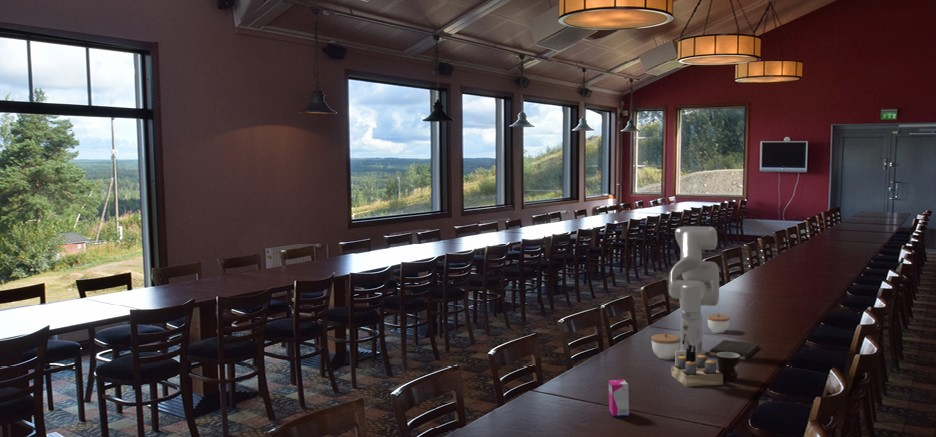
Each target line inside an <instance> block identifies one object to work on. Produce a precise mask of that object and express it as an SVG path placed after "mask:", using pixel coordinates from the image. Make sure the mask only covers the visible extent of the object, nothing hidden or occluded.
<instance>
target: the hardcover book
mask: <svg viewBox="0 0 936 437" xmlns="http://www.w3.org/2000/svg"><path fill="white" fill-rule="evenodd" d="M759 348H760V344H758V343H753V342H744V341H743V342H742V341H737V340H729V339H728V340H727V339H723V340H722V341H720V342H719V343H717V344H716V345H715V346H714V347H712V348H710V350H708V352H709V355H710V356H716V357H717V353H720V352H732V353H737V354H739V355H740V359H739V360H744V361H746V360H747V359H748V358H749V357H750V356H752V355H753V354H754V353H755V352H756V351H757V350H759Z"/></svg>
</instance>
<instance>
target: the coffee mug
mask: <svg viewBox="0 0 936 437" xmlns="http://www.w3.org/2000/svg"><path fill="white" fill-rule="evenodd" d="M716 358H717V365H718V366H717V367H718V372H720V373H721V374H723V382H731V383H734V382H736V381H737V380H738V375H739V372H738V371H739V365H740V360H741V359H740V355H739V354H737V353H732V352H720V353H717V356H716Z"/></svg>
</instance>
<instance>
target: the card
mask: <svg viewBox="0 0 936 437" xmlns="http://www.w3.org/2000/svg"><path fill="white" fill-rule="evenodd" d="M679 356H686V351H675V357H674V360H675V361H674V363H675V364H674V365H677V358H678V357H679ZM696 356H697V350H696ZM694 362H695V363H696V361H694Z"/></svg>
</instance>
